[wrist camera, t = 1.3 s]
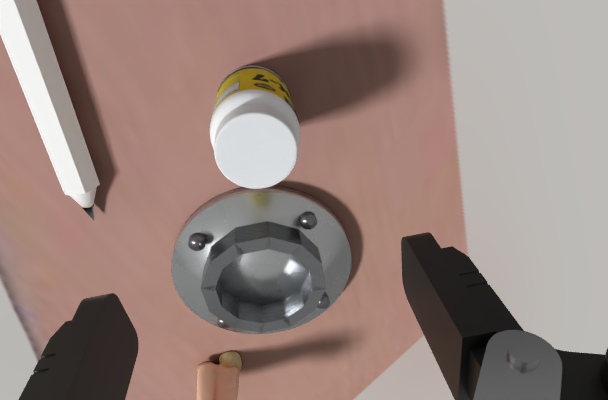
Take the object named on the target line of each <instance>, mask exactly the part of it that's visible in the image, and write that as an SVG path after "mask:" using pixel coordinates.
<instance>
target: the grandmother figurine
mask: <svg viewBox="0 0 608 400" xmlns="http://www.w3.org/2000/svg"><path fill="white" fill-rule="evenodd" d="M219 362H220V364H219V365H217V364H214V363H213V362H204V363H202V364H200V365H198V366H197V368H196V371H197V374H198V377H197V400H237V396H238V387H239V373H240V372H239V371H240V369H241V367H242V362H241V357H240V355H239V354H238V353H237V352H233V351H230V352H226V353H223V354H222V355H221V356H220V357H219Z"/></svg>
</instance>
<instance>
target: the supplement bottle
mask: <svg viewBox="0 0 608 400" xmlns="http://www.w3.org/2000/svg"><path fill="white" fill-rule="evenodd" d="M210 138H211V143H212V146H213V148H214V154H215V159H216V163H217V165H218V167H219V169H220V170H221V172H222V173H223V174H224V175H225V176H226V177H227V178H228V179H229V180H231V181H232V182H234V183H235V184H237V185H239V186H242V187H246V188H251V189H261V188H267V187H271V186H273V185H276V184H277V183H279V182H281V181H282V180H283V179H285V178H286V177H287V176H288V175H289V174H290V172H291V171H292V169H293V167H294V165H295V163H296V160H297V154H298V146H299V142H300V126H299V120H298V118H297V114H296V112H295V108H294V105H293V102H292V99H291V95H290V92H289V90H288V88H287V86H286V84H285V83H284V81H283V80H282V79H281V78H280V77H279V76H278V75H277V74H276V73H274V72H273V71H271V70H269V69H266V68H264V67H260V66H245V67H241V68H239V69H236V70H235V71H233V72H231V73H230V74H229V75H228V76H227V77H226V78H225V79H224V80H223V82H222V84H221V85H220V88H219V90H218V94H217V98H216V102H215V106H214V110H213V115H212V118H211V123H210Z"/></svg>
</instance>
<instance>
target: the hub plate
mask: <svg viewBox="0 0 608 400" xmlns="http://www.w3.org/2000/svg"><path fill="white" fill-rule="evenodd" d="M351 263H352V262H351V250H350V245H349V242H348V239H347V237H346V234H345V231H344V229H343V227H342V225H341V223H340V221H339V220H338V218H337V217H336V216H335V215H334V213H333V212H332V211H331V210H330V209H329V208H328V207H327V206H326V205H324V204H323V203H322V202H320V201H319V200H317V199H316V198H314V197H312V196H310V195H308V194H306V193H304V192H301V191H298V190H295V189H292V188H287V187H283V186H271V187H267V188H261V189H251V188H246V187H242V188H238V189H234V190H231V191H228V192H225V193H223V194H220V195H218V196H216V197H215V198H213V199H211V200H209V201H208V202H206V203H205V204H203V205H202V206H201V207H199V208H198V209H197V210H196V211H195V212H194V213H193V214H192V215H191V216H190V217H189V218H188V220H187V221H186V222H185V224H184V225H183V227H182V229H181V230H180V232H179V235H178V237H177V240H176V243H175V247H174V251H173V256H172V264H171V271H172V278H173V282H174V285H175V288H176V290H177V292H178V294H179V296H180V298H181V299H182V300H183V302H184V303H185V304H186V305H187V306H188V307H189V308H190V309H191V311H193V312H194V313H195V314H196V315H198V316H199V317H200V318H202V319H204V320H205V321H207V322H209V323H211V324H213V325H215V326H217V327H220V328H223V329H226V330H230V331H234V332H240V333H247V334H266V333H274V332H280V331H285V330H289V329H292V328H295V327H298V326H300V325H302V324H305V323H307V322H309V321H311V320H312V319H314V318H316V317H317V316H319V315H320V314H322V313H323V312H324V311H326V310H327V309H328V308H329V307H330V306H331V305H332V304H333V303H334V302H335V301H336V299H337V298H338V297H339V296H340V294H341V293H342V291H343V289H344V288H345V285H346V283H347V281H348V278H349V275H350V271H351Z"/></svg>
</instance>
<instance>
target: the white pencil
mask: <svg viewBox="0 0 608 400" xmlns="http://www.w3.org/2000/svg"><path fill="white" fill-rule="evenodd" d="M0 35H1V37H2V40H3V42H4V44H5V47H6V49H7V52H8V54H9V57H10V59H11V62H12V64H13V67H14V69H15V72H16V74H17V77H18V79H19V82H20V84H21V87H22V89H23V92H24V94H25V97H26V99H27V102H28V104H29V107H30V109H31V112H32V114H33V117H34V119H35V122H36V124H37V127H38V129H39V132H40V134H41V137H42V139H43V142H44V144H45V147H46V149H47V152H48V154H49V157H50V159H51V162H52V164H53V167H54V169H55V172H56V174H57V177H58V179H59V182H60V184H61V187H62V189H63V191H64V193H65V195H70V196H71V197H72V198H73V199H74V200H75V201H76V202H77V203H79V204H80V205H81V207H82V208H83V209H84V210H85V211H86V212H87V213H88V215H89V216H90V217H91V218H92V219H93V220H94V199H95V194H96V189H97V186H99V185H100V183H99V180H98V177H97V174H96V171H95V169H94V166H93V163H92V160H91V157H90V154H89V151H88V148H87V145H86V143H85V140H84V137H83V134H82V131H81V128H80V125H79V122H78V119H77V116H76V114H75V111H74V108H73V105H72V102H71V99H70V96H69V93H68V90H67V87H66V85H65V82H64V79H63V76H62V73H61V70H60V67H59V64H58V61H57V58H56V56H55V53H54V50H53V47H52V44H51V41H50V38H49V35H48V32H47V30H46V27H45V24H44V21H43V18H42V15H41V12H40V9H39V6H38V3H37V1H36V0H0Z"/></svg>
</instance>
